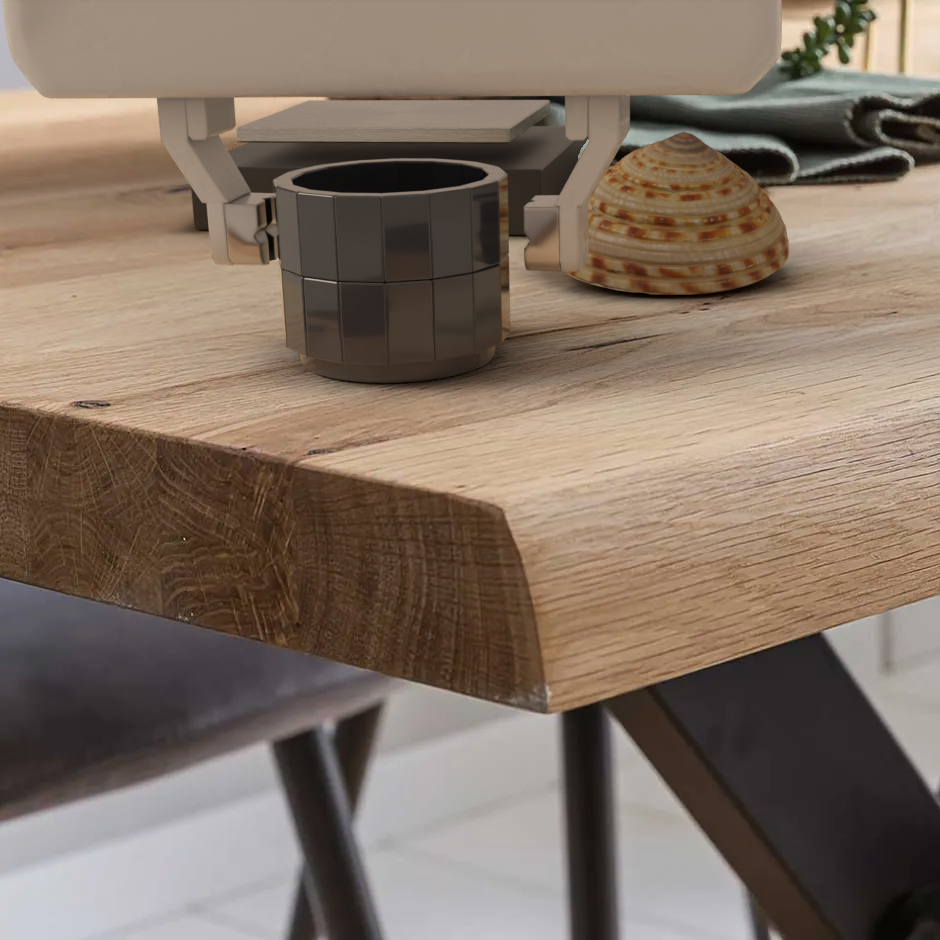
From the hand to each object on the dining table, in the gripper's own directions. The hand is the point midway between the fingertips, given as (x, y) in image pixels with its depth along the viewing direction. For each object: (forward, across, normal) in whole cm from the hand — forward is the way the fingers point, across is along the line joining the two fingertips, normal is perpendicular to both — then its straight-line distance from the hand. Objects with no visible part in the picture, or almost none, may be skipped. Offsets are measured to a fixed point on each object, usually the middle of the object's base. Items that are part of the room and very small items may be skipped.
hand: (399, 264), depth 43 cm
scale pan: (-1, +6, -23) cm, 24 cm away
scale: (+2, +6, -23) cm, 24 cm away
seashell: (+3, -6, -12) cm, 14 cm away
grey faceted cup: (+3, 0, 0) cm, 3 cm away
